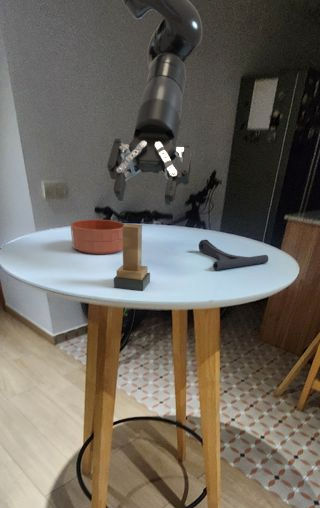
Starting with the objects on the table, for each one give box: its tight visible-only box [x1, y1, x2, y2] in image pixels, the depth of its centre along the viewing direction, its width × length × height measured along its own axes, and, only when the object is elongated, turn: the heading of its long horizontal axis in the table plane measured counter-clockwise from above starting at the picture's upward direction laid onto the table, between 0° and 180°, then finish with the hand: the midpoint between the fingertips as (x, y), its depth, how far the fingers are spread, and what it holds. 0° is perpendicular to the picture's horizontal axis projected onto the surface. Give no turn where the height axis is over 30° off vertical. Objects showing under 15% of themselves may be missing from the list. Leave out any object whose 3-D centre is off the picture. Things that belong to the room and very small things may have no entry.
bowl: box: [69, 219, 126, 255], centre depth 83 cm, size 12×12×5 cm
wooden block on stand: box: [113, 223, 151, 291], centre depth 62 cm, size 5×5×10 cm
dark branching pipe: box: [198, 239, 269, 271], centre depth 81 cm, size 14×15×3 cm
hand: (142, 199), depth 63 cm, fingers open, 8 cm apart
